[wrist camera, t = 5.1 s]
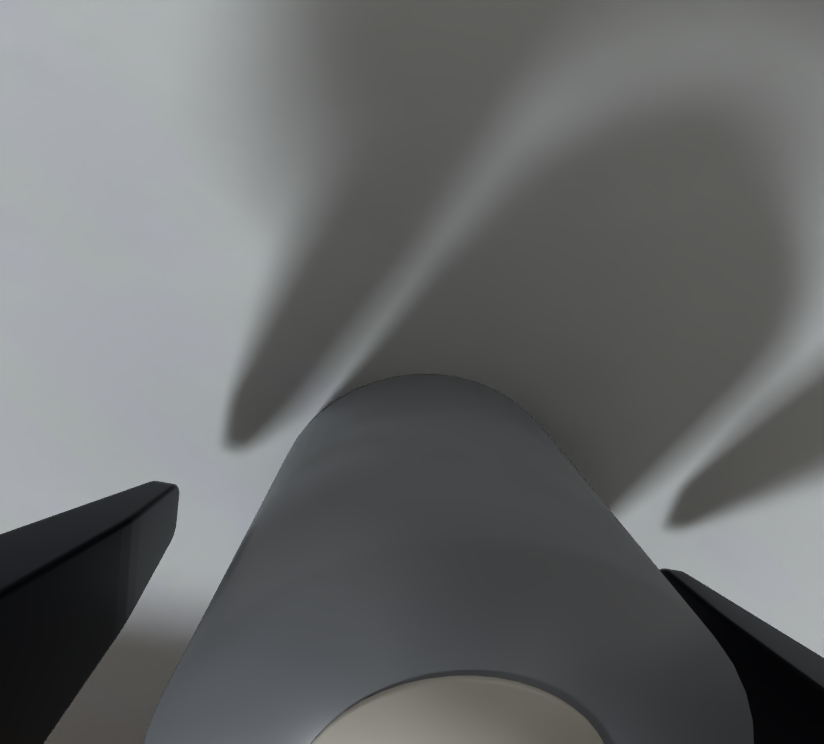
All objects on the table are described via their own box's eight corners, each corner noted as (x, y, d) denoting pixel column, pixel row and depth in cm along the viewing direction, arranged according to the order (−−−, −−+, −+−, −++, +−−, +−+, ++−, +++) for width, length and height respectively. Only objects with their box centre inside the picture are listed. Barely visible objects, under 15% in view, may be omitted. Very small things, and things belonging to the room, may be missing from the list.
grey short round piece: (604, 406, 9) (870, 607, 4) (520, 646, 10) (634, 1007, 5) (299, 344, 8) (158, 487, 3) (258, 608, 10) (119, 974, 5)
